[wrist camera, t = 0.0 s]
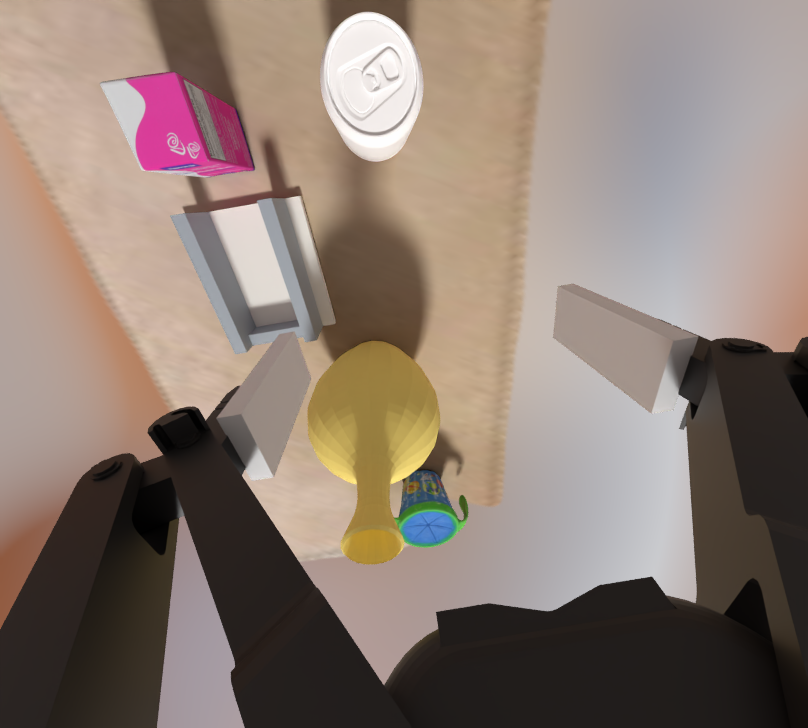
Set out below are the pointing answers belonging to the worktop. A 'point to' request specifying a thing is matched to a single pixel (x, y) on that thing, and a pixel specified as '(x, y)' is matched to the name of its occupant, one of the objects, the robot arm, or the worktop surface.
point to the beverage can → (371, 84)
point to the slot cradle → (259, 270)
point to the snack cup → (428, 511)
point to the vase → (373, 437)
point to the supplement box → (178, 126)
